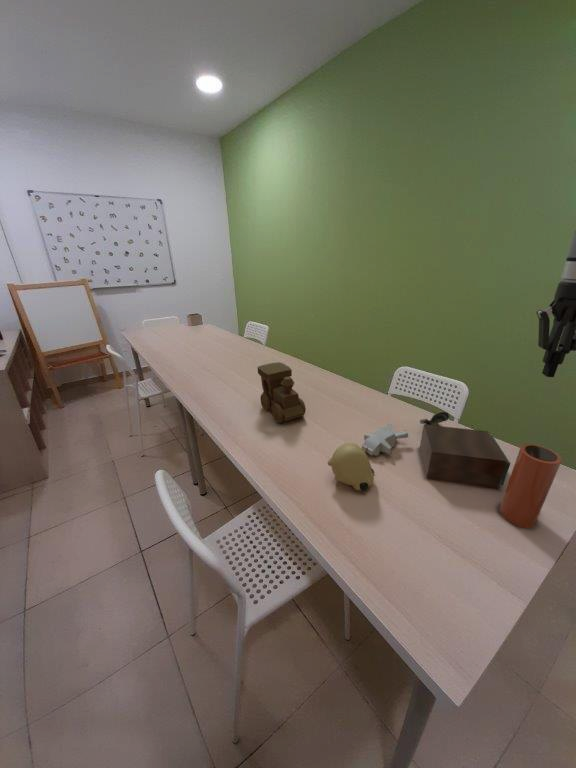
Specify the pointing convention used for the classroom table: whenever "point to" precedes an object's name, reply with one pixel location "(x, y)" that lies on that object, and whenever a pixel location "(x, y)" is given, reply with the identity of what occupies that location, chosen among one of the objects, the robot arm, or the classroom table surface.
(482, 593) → the classroom table surface
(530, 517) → the pencil holder
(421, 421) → the eagle figurine
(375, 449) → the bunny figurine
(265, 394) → the wooden toy train
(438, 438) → the cabinet
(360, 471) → the tan rounded lump
